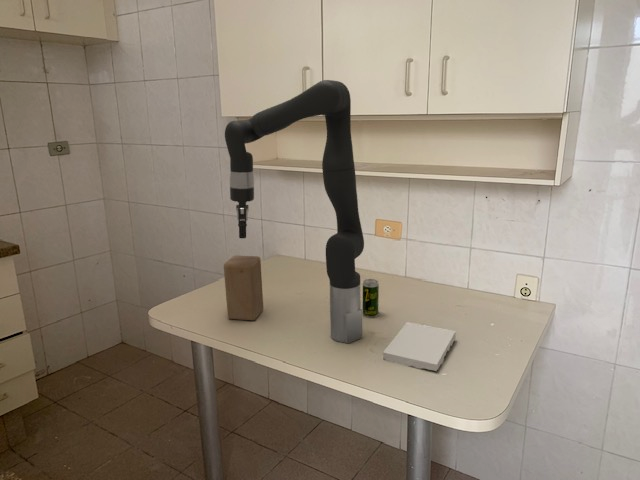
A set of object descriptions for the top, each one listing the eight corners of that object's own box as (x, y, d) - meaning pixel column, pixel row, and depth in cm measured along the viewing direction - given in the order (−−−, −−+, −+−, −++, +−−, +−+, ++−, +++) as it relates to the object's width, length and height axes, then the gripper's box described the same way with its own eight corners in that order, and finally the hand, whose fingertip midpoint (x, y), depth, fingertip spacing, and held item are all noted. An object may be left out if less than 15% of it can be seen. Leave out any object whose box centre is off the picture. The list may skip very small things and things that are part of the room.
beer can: (361, 311, 160) (361, 279, 157) (377, 311, 161) (377, 278, 157) (363, 318, 155) (363, 284, 152) (379, 317, 155) (380, 284, 152)
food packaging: (436, 375, 122) (455, 341, 139) (436, 364, 122) (455, 331, 138) (383, 362, 130) (407, 331, 146) (383, 352, 129) (407, 321, 145)
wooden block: (255, 321, 155) (251, 264, 149) (226, 319, 157) (222, 263, 151) (264, 309, 164) (261, 255, 159) (237, 307, 166) (233, 254, 161)
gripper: (254, 189, 141) (254, 240, 146) (253, 181, 154) (253, 228, 159) (229, 189, 140) (230, 241, 144) (230, 181, 153) (231, 228, 158)
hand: (242, 234), depth 152 cm, fingers open, 8 cm apart
